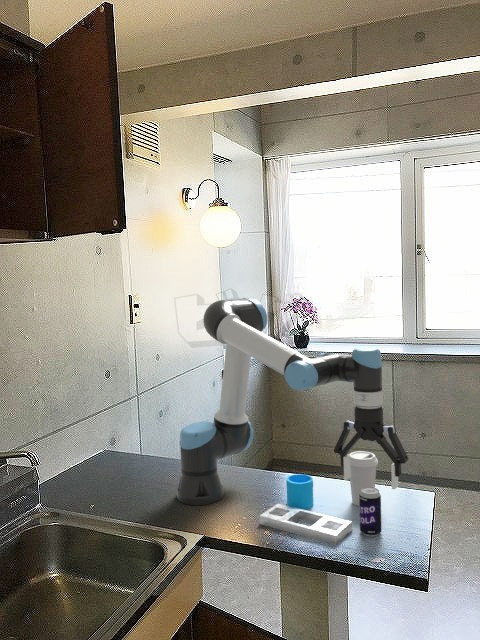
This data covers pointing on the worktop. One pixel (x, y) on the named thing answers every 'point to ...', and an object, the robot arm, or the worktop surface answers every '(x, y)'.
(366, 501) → the beverage can
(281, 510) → the white compartment tray
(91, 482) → the worktop surface
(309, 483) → the mug
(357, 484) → the coffee cup
